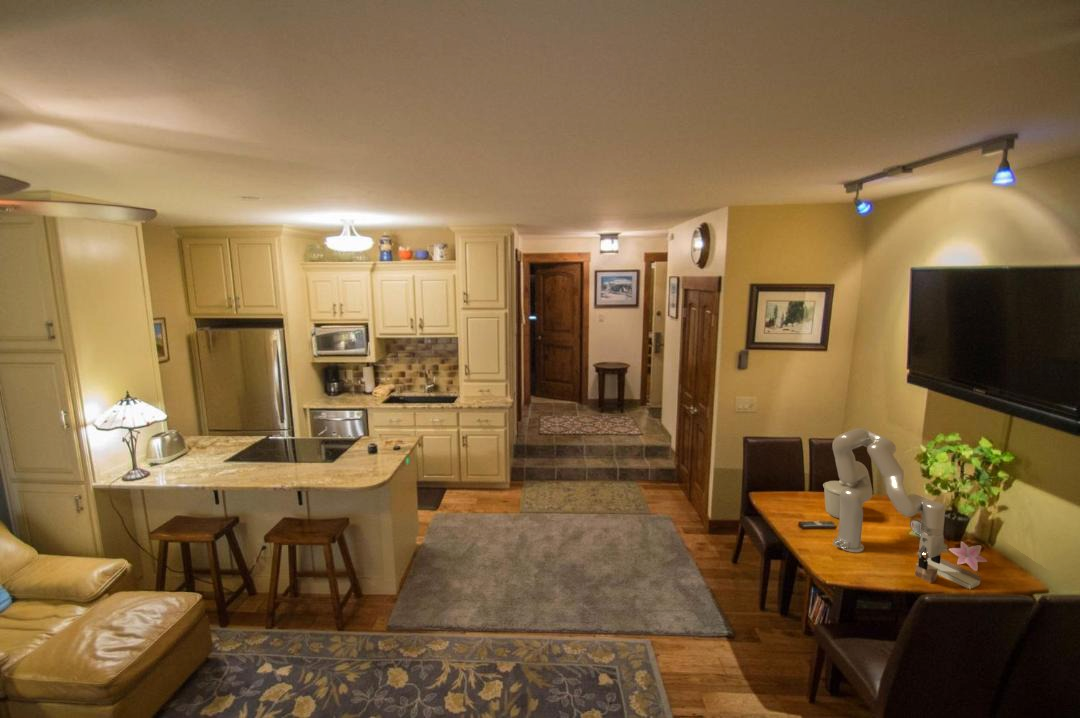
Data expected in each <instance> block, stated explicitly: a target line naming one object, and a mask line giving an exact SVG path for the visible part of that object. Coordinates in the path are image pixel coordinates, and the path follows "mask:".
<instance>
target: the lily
mask: <svg viewBox="0 0 1080 718" xmlns="http://www.w3.org/2000/svg"><path fill="white" fill-rule="evenodd" d="M981 550H982V545H980V544H979V545H978V544H977V545H972V546H968V545H967V544H966V543H965V542H963V541H960V547H952V548H948V551H949V552H951V553H952V554H953V555H955V556H957V557H958V558H957V562H956V565H962V564H967V565H968V566H969V567H970V568H971V569H972V570H973V571H974V572H977V571H978V569H979V568H978V565H979V564H978V562H979V563H987V562H988V560H987V559H986V558H984V557H983V556H981V555H980V553H981Z"/></svg>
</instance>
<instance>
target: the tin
mask: <svg viewBox="0 0 1080 718" xmlns="http://www.w3.org/2000/svg"><path fill="white" fill-rule="evenodd" d="M921 520H922V518H919V517H918V518H917V517H916V518H913V519H910V521H909V526H910V529H911V530H912V532H913V533H914V532H915V533H914V534H916V533H919V534H921V533H922V531H921Z"/></svg>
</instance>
